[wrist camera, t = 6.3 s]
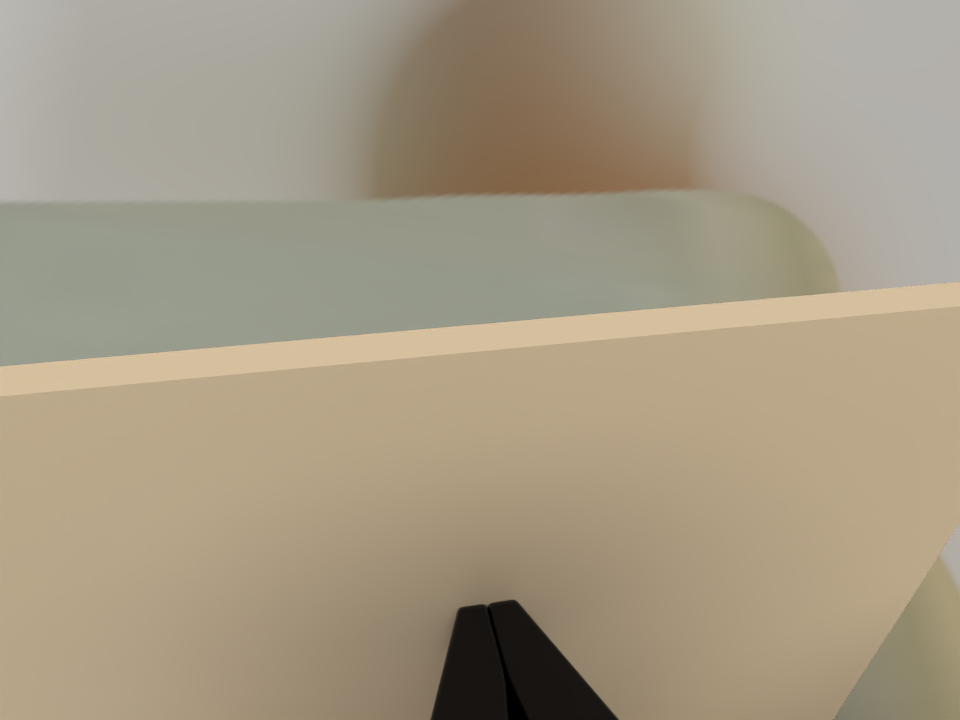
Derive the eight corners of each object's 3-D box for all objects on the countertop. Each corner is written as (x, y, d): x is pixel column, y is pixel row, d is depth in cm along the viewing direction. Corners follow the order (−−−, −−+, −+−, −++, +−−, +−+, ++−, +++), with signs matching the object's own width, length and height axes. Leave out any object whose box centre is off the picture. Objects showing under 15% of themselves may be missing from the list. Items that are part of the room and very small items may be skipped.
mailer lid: (1107, 291, 8) (1068, 273, 8) (-358, 430, 6) (-311, 393, 6) (827, 728, 14) (813, 704, 14) (78, 869, 12) (87, 836, 12)
